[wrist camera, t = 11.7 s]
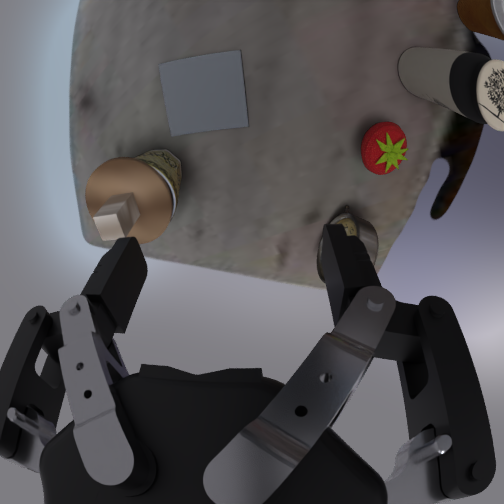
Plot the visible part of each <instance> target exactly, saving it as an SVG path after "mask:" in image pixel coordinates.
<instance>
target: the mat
mask: <svg viewBox="0 0 504 504" xmlns="http://www.w3.org/2000/svg"><path fill="white" fill-rule="evenodd" d="M158 65H159V71H160V77H161V83H162V89H163V95H164V101H165V106H166V112H167V117H168V122H169V127H170V132H171V136H177V135H183V134H190V133H197V132H204V131H212V130H220V129H229V128H239V127H249V124H248V114H247V105H246V95H245V86H244V77H243V68H242V59H241V50H236V51H228V52H220V53H213V54H207V55H201V56H195V57H190V58H185V59H180V60H175V61H170V62H166V63H162V64H158Z"/></svg>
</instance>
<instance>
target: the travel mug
mask: <svg viewBox="0 0 504 504" xmlns="http://www.w3.org/2000/svg"><path fill="white" fill-rule="evenodd" d="M398 72H399V76H400V79H401V82H402V83H403V85H404V87H405V88H406V89H407V90H408V91H409V92H410V93H412V94H413V95H415V96H418V97H420V98H423V99H426V100H428V101H431V102H433V103H436V104H438V105H441V106H443V107H445V108H448V109H450V110H452V111H455V112H457V113H459V114H461V115H463V116H465V117H467V118H469V119H472V120H474V121H476V122H478V123H481V124H489V125H490V126H491V127H492V128H494V129H495V130H498V131H504V61H501V60H496V59H495V60H491V59H490V58H489V57H487V56H485V55H483V54H478V53H472V52H465V51H458V50H449V49H439V48H426V47H413V48H409V49H408V50H406V51H405V52H404V53H403V54H402V56H401V57H400V60H399V64H398Z"/></svg>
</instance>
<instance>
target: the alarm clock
mask: <svg viewBox="0 0 504 504" xmlns="http://www.w3.org/2000/svg"><path fill="white" fill-rule="evenodd" d="M345 208H346V210H345V213H342V214H340V215H338V216H337V217H336V218H334V219H333V220H332V221H331V223H330V224H343V226H344V228H345V231H346V233H347V236H351V235H356V236H357V237H358V238H359V239H360V240H361V241H362V242H363V243H364V245H365V247H366V249H367V253H368V254H369V256H370V259H371V261H372V263H373V266H374V265H375V262H376V259H377V255H378V236H377V233H376V230H375V228H374V227H373V225H372V224H371V223H370V222H368V221H366V220H364V219H362V218H359V217H357V216H355V215H352V214H350V213H349V211H348V209H349V206H347V205H346V206H345ZM322 242H323V236H322V239H321V242H320V245H319V249H318V254H317V270H318V274H319V277H320V279H321V280H322V281H323V282H324V283H326V282H325V278H324V273H323V269H322Z"/></svg>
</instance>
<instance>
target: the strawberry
mask: <svg viewBox="0 0 504 504" xmlns="http://www.w3.org/2000/svg"><path fill="white" fill-rule="evenodd" d="M406 147H407V141H406V137H405V134H404V132H403V131H402V130H401V128H400V127H399V126H398V125H397V124H395V123H393V122H380V123H377V124H375V125H373V126H372V127H371V128H370V129H369V130H368V131H367V132H366V134H365V135H364V137H363V140H362V144H361V155H362V160H363V163H364V165H365V167H366V168H367V169H368V170H369V171H371V172H373V173H375V174H378V175H383V174H387V173H390V172H391V171H393V170H394V169H395V168H397V169H398V170H399V168H398V165H399V164H400V163H401V161H402V160H407V159H406V158H405V157H404V156H405V152H406V151H407V150H408V149H406Z"/></svg>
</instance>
